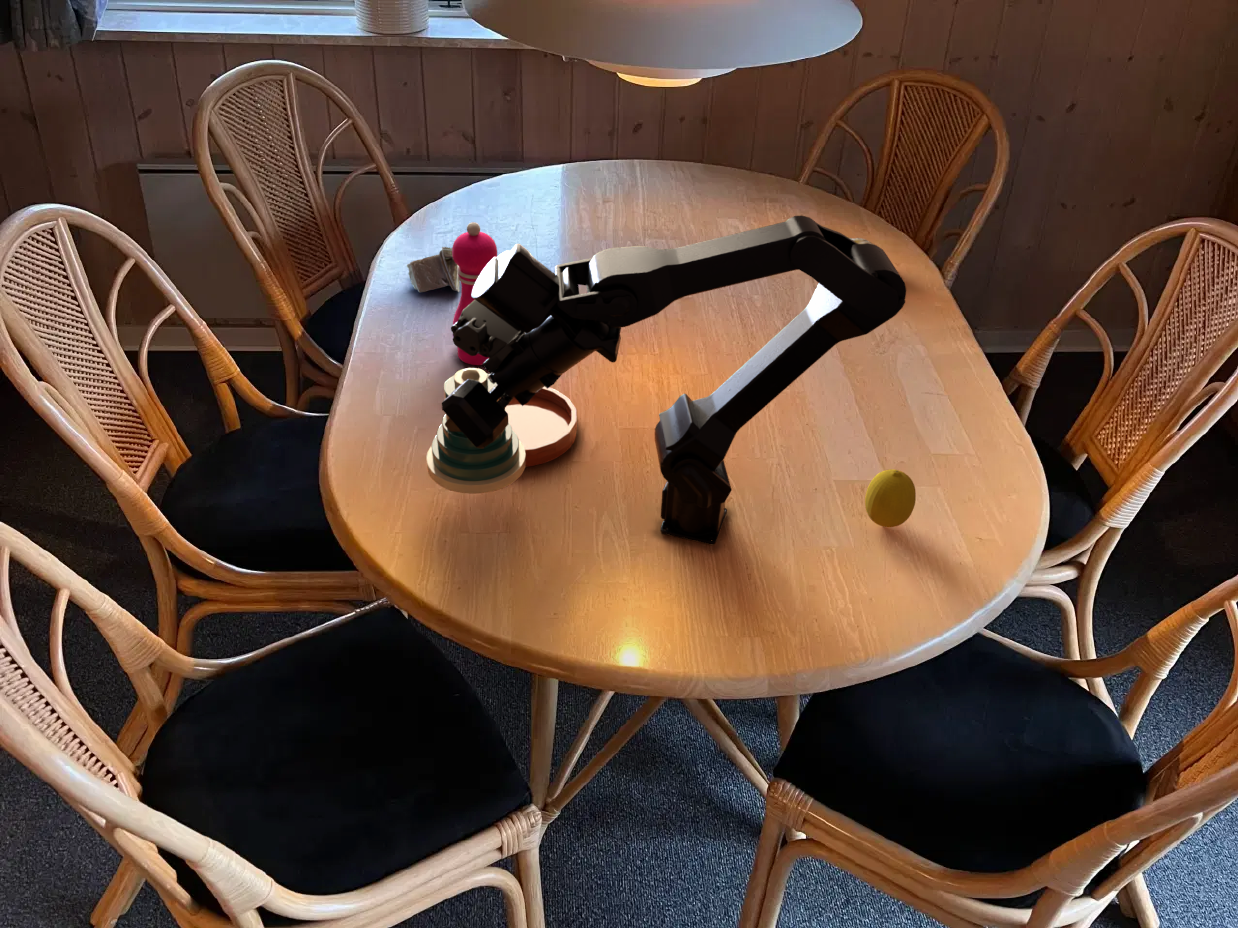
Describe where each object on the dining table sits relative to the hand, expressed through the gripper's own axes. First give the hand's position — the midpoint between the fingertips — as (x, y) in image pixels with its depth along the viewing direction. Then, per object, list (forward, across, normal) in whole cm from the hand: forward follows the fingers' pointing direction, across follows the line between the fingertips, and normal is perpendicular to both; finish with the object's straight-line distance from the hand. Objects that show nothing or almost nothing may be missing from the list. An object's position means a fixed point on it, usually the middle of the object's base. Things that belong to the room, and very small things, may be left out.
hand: (462, 412), depth 117 cm
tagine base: (+9, -14, +8) cm, 19 cm away
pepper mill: (+19, -29, -2) cm, 35 cm away
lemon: (-24, -15, +42) cm, 50 cm away
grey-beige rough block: (+29, -59, -22) cm, 69 cm away
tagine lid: (+4, 0, +6) cm, 7 cm away
